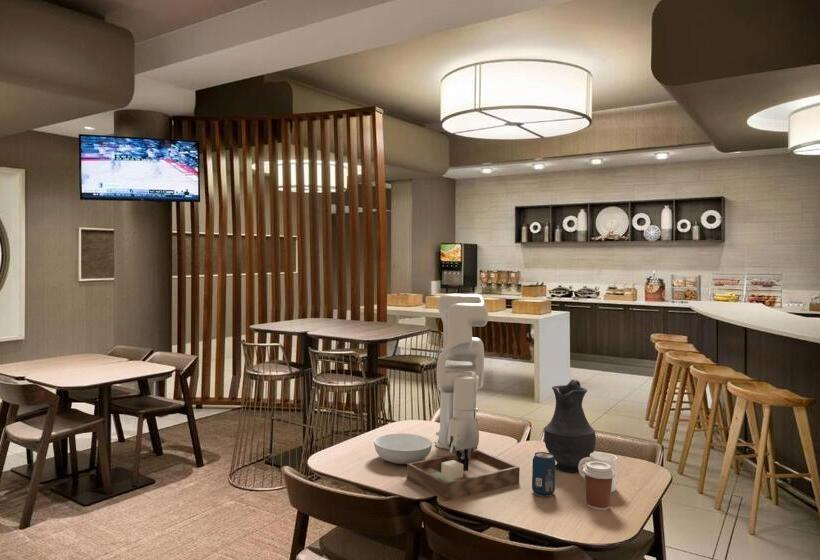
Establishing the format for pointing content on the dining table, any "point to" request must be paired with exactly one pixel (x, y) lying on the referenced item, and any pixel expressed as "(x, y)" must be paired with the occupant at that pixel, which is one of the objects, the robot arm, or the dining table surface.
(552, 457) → the soda can
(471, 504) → the dining table surface
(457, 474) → the block
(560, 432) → the pitcher
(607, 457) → the mug
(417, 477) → the trap box
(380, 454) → the serving bowl
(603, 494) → the coffee cup
